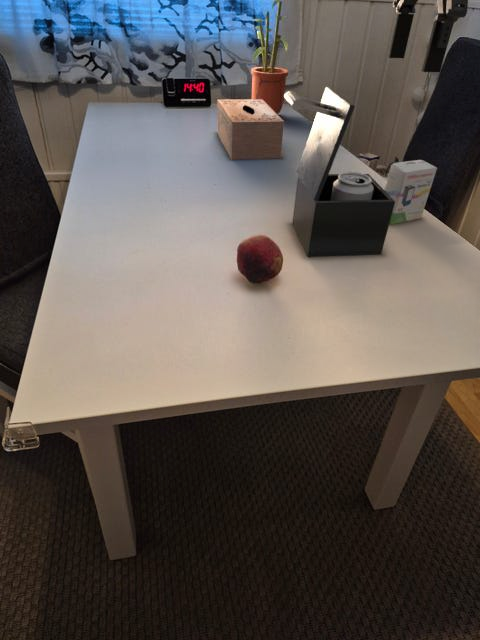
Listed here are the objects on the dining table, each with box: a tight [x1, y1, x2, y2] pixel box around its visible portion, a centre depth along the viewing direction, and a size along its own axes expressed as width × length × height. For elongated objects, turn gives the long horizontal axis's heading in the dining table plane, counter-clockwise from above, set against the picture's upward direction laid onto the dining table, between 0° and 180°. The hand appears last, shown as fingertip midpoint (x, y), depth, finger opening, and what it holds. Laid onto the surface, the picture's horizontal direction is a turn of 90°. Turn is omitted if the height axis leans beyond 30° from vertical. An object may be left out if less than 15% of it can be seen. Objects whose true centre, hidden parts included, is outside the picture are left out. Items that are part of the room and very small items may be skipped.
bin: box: [291, 173, 395, 258], centre depth 87 cm, size 15×14×11 cm
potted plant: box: [250, 0, 289, 115], centre depth 154 cm, size 17×16×35 cm
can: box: [330, 171, 374, 201], centre depth 86 cm, size 8×8×12 cm
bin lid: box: [284, 86, 356, 201], centre depth 77 cm, size 16×14×9 cm
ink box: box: [384, 159, 438, 225], centre depth 95 cm, size 9×5×12 cm, turn 114°
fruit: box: [236, 234, 284, 285], centre depth 74 cm, size 8×8×8 cm
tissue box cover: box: [216, 98, 285, 161], centre depth 133 cm, size 26×14×10 cm, turn 11°
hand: (411, 64), depth 74 cm, fingers open, 13 cm apart
